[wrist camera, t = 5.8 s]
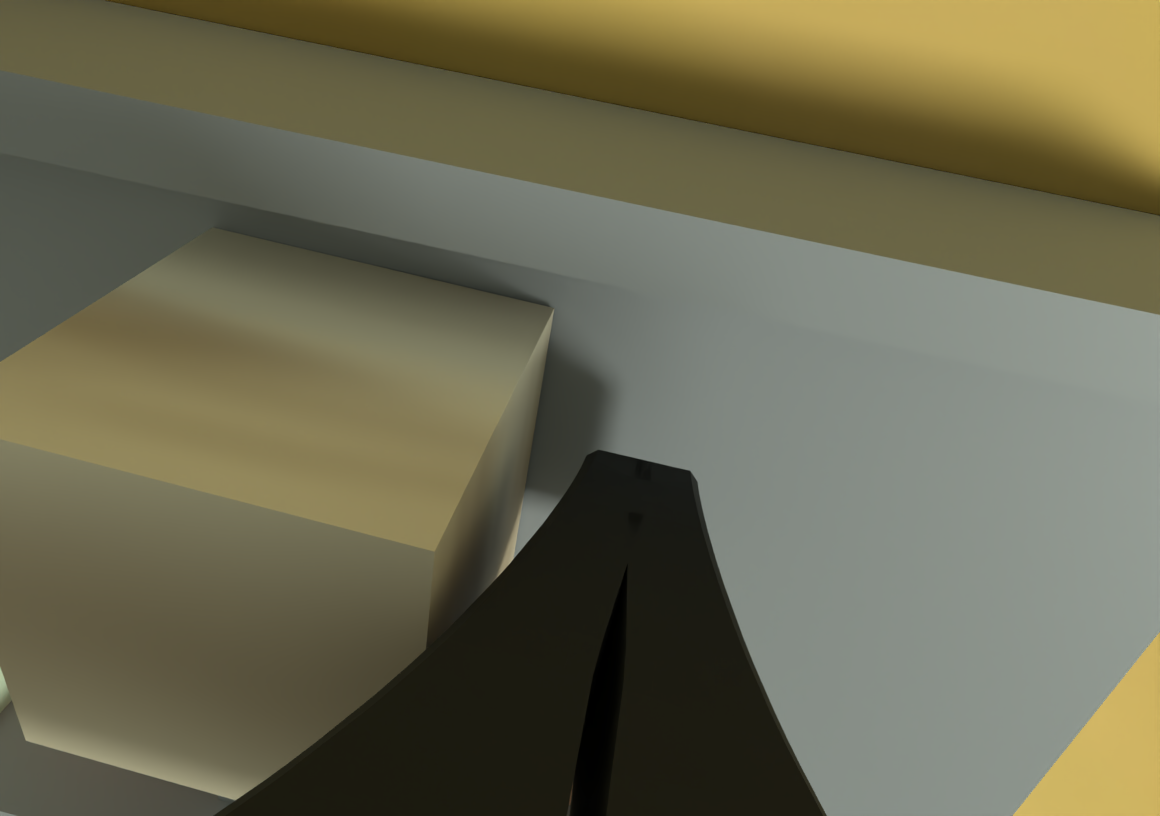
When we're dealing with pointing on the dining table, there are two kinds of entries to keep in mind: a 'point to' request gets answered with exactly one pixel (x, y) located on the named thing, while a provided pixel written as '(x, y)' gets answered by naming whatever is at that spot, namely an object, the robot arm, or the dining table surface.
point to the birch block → (252, 500)
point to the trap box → (675, 365)
